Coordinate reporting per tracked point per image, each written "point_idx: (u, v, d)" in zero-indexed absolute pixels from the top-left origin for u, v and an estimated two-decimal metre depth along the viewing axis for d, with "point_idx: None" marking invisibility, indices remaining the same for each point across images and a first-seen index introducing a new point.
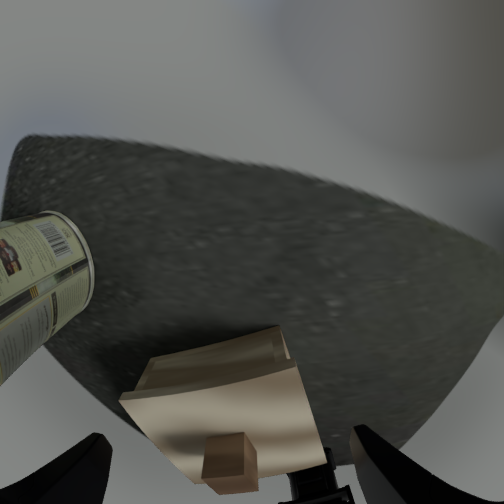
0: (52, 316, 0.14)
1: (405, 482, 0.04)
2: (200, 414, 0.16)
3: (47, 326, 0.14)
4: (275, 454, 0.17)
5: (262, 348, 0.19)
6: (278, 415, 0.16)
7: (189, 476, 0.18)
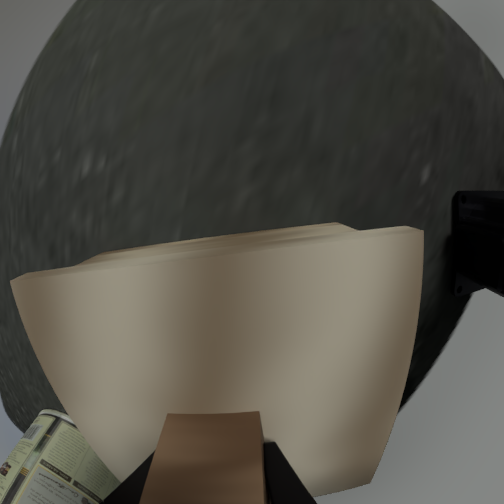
0: (56, 475, 0.10)
1: None
2: (123, 443, 0.08)
3: (59, 485, 0.09)
4: (291, 377, 0.07)
5: None
6: (109, 342, 0.07)
7: (339, 489, 0.09)
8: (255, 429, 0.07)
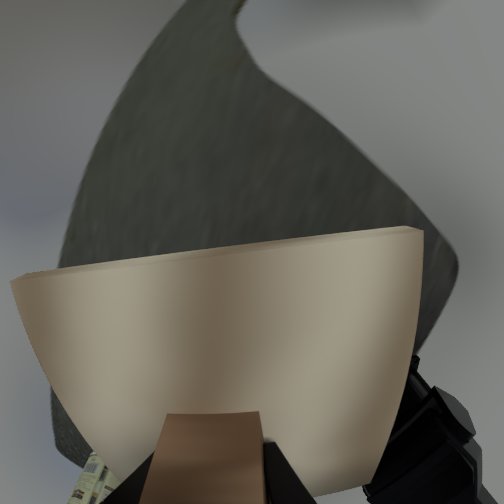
0: None
1: None
2: (123, 444, 0.08)
3: None
4: (291, 378, 0.07)
5: None
6: (109, 342, 0.07)
7: (339, 489, 0.09)
8: (255, 429, 0.07)
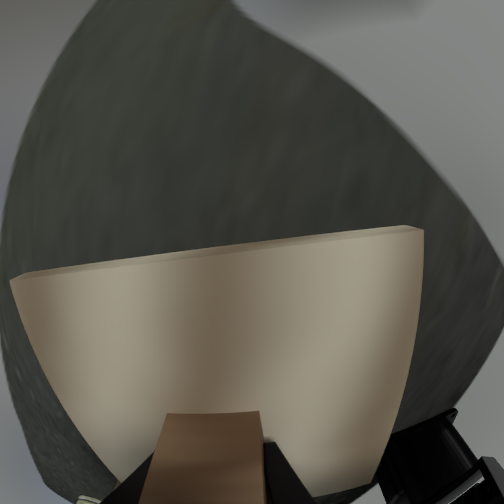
0: None
1: None
2: (123, 443, 0.08)
3: None
4: (291, 377, 0.07)
5: None
6: (108, 341, 0.07)
7: (339, 489, 0.09)
8: (255, 429, 0.07)
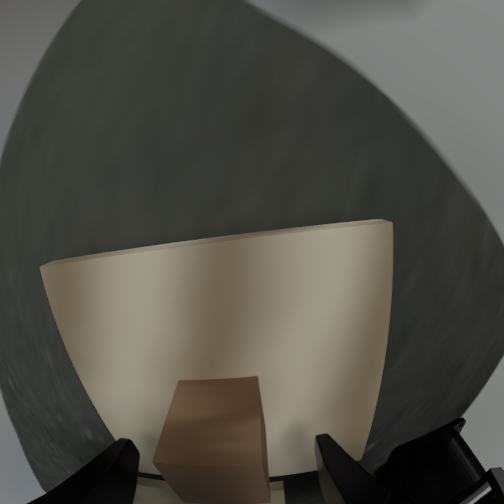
0: None
1: (358, 498, 0.04)
2: (135, 415, 0.10)
3: None
4: (284, 344, 0.09)
5: None
6: (131, 315, 0.09)
7: None
8: (254, 390, 0.08)
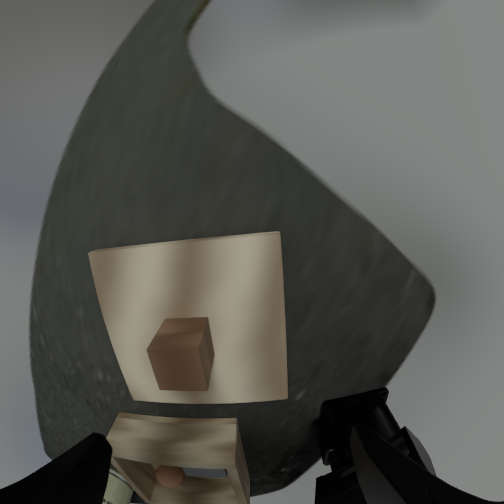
0: None
1: (405, 482, 0.04)
2: (137, 346, 0.18)
3: None
4: (221, 298, 0.17)
5: None
6: (142, 279, 0.17)
7: (265, 398, 0.19)
8: (204, 322, 0.17)
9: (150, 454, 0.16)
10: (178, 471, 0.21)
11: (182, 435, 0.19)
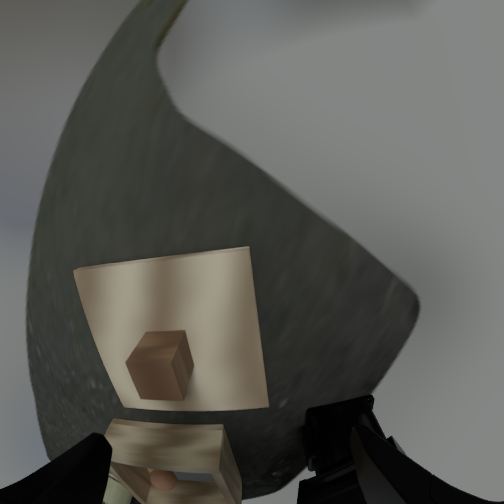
0: None
1: (405, 482, 0.04)
2: (123, 357, 0.18)
3: None
4: (196, 312, 0.17)
5: None
6: (122, 295, 0.17)
7: (246, 406, 0.19)
8: (180, 335, 0.17)
9: (140, 458, 0.17)
10: (171, 474, 0.21)
11: (170, 440, 0.19)
